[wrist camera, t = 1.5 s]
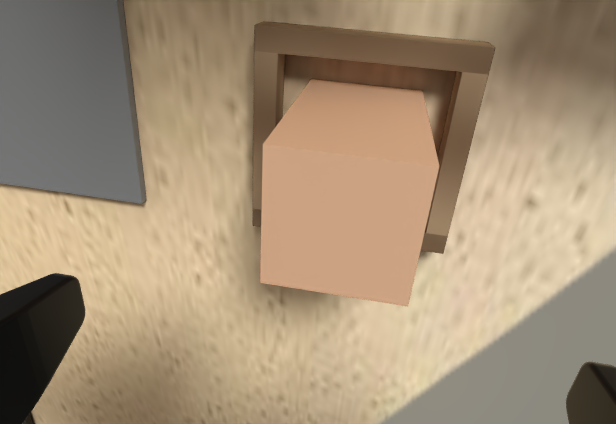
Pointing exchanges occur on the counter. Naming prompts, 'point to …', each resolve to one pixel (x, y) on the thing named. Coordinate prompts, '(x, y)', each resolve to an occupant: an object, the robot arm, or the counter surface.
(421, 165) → the block
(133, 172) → the mat
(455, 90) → the pocket
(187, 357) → the counter surface
